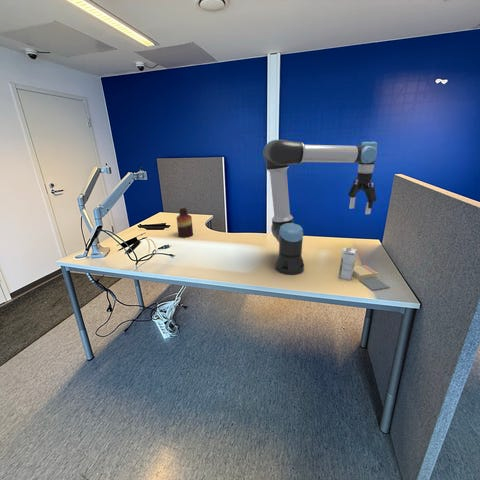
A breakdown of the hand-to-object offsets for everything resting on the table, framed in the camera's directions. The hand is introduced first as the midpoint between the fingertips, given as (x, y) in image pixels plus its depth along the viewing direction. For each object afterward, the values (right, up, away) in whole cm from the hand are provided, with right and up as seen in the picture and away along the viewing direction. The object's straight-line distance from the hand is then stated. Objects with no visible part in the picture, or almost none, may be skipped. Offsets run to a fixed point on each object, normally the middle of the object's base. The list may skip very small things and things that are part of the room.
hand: (359, 211), depth 144 cm
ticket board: (-6, -34, -16) cm, 38 cm away
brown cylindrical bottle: (-108, -13, +47) cm, 119 cm away
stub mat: (-5, -37, -26) cm, 45 cm away
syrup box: (-15, -35, -18) cm, 42 cm away
